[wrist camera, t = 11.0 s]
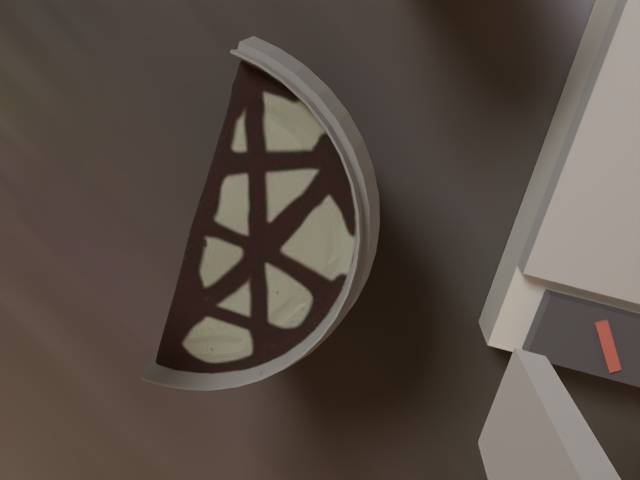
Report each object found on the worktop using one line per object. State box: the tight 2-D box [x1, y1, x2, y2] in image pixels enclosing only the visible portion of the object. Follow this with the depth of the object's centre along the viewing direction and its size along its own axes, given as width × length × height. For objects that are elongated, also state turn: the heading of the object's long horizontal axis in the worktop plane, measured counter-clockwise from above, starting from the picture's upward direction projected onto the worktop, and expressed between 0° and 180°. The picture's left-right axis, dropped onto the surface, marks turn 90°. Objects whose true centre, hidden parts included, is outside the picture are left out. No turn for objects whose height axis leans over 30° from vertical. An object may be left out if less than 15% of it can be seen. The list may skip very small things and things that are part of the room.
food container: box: [139, 36, 380, 390], centre depth 21 cm, size 12×6×10 cm, turn 161°
